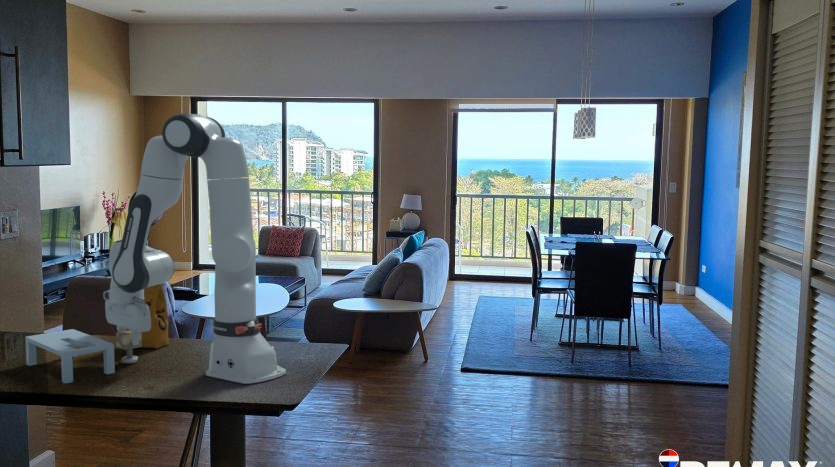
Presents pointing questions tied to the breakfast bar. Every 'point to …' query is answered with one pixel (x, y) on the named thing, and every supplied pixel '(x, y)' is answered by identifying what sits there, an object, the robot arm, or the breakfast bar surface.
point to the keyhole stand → (69, 349)
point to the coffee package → (156, 318)
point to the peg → (127, 346)
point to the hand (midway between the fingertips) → (129, 342)
